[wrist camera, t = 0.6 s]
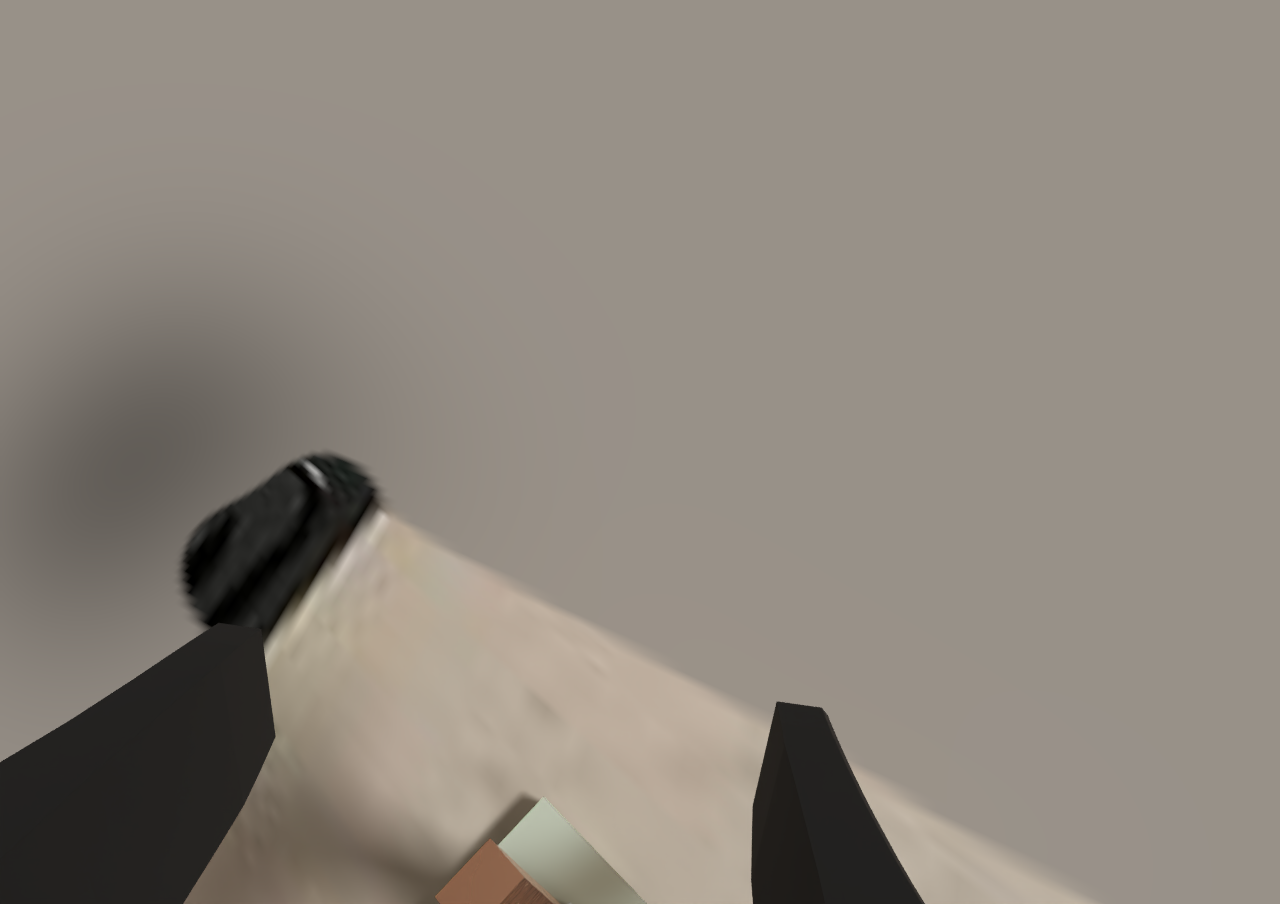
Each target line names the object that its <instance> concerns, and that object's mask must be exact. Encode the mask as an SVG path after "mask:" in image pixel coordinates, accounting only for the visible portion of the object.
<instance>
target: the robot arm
mask: <svg viewBox="0 0 1280 904" xmlns="http://www.w3.org/2000/svg"><path fill="white" fill-rule="evenodd" d="M275 737H276V736H275V729H274V722H273V714H272V707H271V699H270V692H269V684H268V677H267V669H266V662H265V654H264V647H263V639H262V632H261V629H257V628H250V627H243V626H236V625H229V624H221V623H218V624H217V625H215V626H213V627H212V628H210V629H209V630H207V631H205V632H204V633H202V634H201V635H199V636H198V637H196V638H194V639H193V640H191V641H190V642H188V643H187V644H185V645H184V646H182V647H181V648H179V649H178V650H176V651H175V652H173V653H172V654H171V655H169V656H168V657H166V658H164V659H163V660H161V661H160V662H159V663H157V664H155V665H154V666H152V667H151V668H149V669H148V670H146V671H145V672H144V673H142V674H140V675H139V676H137V677H136V678H135V679H133V680H131V681H130V682H128V683H127V684H125V685H124V686H122V687H121V688H119V689H118V690H116V691H114V692H113V693H111V694H110V695H108V696H107V697H105V698H104V699H102V700H101V701H99V702H98V703H96V704H94V705H93V706H92V707H90V708H88V709H87V710H85V711H84V712H82V713H81V714H79V715H78V716H76V717H74V718H73V719H71V720H70V721H68V722H67V723H65V724H63V725H61V726H60V727H58V728H56V729H55V730H53V731H51V732H50V733H48V734H46V735H45V736H43V737H42V738H40V739H38V740H36V741H35V742H33V743H31V744H30V745H28V746H26V747H25V748H23V749H21V750H20V751H18V752H16V753H15V754H13V755H12V756H10V757H8V758H7V759H5V760H3V761H2V762H0V904H183V903H184V901H185V900H186V898H187V896H188V895H189V893H190V892H191V890H192V888H193V887H194V885H195V884H196V882H197V881H198V879H199V877H200V876H201V874H202V873H203V871H204V869H205V868H206V866H207V865H208V863H209V861H210V860H211V858H212V856H213V855H214V853H215V852H216V850H217V848H218V847H219V845H220V843H221V842H222V840H223V839H224V837H225V835H226V834H227V832H228V830H229V829H230V827H231V826H232V824H233V822H234V821H235V819H236V817H237V816H238V814H239V812H240V811H241V809H242V807H243V806H244V804H245V802H246V799H247V797H248V795H249V793H250V791H251V789H252V787H253V785H254V783H255V781H256V779H257V777H258V775H259V772H260V770H261V768H262V766H263V763H264V761H265V759H266V757H267V754H268V752H269V750H270V748H271V746H272V743H273V741H274V739H275ZM751 883H752V896H753V904H925V903H924V902H923V900H922V898H921V897H920V895H919V893H918V892H917V890H916V889H915V887H914V885H913V884H912V882H911V880H910V879H909V877H908V875H907V873H906V872H905V870H904V868H903V867H902V865H901V863H900V861H899V860H898V858H897V856H896V854H895V852H894V851H893V849H892V847H891V845H890V843H889V841H888V840H887V838H886V836H885V834H884V832H883V830H882V829H881V827H880V825H879V823H878V821H877V819H876V818H875V816H874V814H873V812H872V810H871V808H870V806H869V804H868V802H867V800H866V798H865V796H864V794H863V792H862V790H861V788H860V786H859V784H858V782H857V780H856V778H855V776H854V774H853V772H852V770H851V768H850V765H849V763H848V761H847V759H846V757H845V755H844V752H843V750H842V748H841V746H840V743H839V741H838V739H837V737H836V734H835V732H834V730H833V727H832V725H831V722H830V720H829V717H828V715H827V714H826V713H825V711H824V710H823V709H822V708H820V707H812V706H804V705H798V704H790V703H784V702H777V703H776V707H775V712H774V716H773V720H772V724H771V729H770V733H769V737H768V742H767V746H766V750H765V755H764V759H763V764H762V768H761V772H760V777H759V781H758V785H757V790H756V794H755V798H754V803H753V818H752V867H751Z"/></svg>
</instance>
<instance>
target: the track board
mask: <svg viewBox="0 0 1280 904" xmlns="http://www.w3.org/2000/svg"><path fill="white" fill-rule="evenodd" d="M498 846H499V847H500V848H501V849H502V850H503V851H504V852H505V853H506V854H507V855H508V856H510V857H511V858H512V859H513V860H514V861H515V862H516V863H517V864H518V865H519V866H520V867H521V868H523V869H524V870H525V871H526V872H527V873H528V874H529V875H530V876H531V877H532V878H533V879H534V880H535V881H537V882H538V883H539V884H540V885H541V886H542V887H543V888H544V889H545V890H546V891H547V892H548V893H550V894H551V895H552V896H553V897H554V898H555V899H556V900H557V901H558V902H559V903H560V904H568V903H569V902H570V903H571V904H647V903H646V902H645V901H644V900H643V899H642V898H641V897H640V896H639V895H638V894H637V893H636V892H635V891H634V890H633V889H632V888H631V887H630V886H629V885H628V884H627V883H626V882H625V880H624V879H623V878H622V877H621V876H620V875H619V874H618V873H617V872H616V871H615V870H614V869H613V868H612V867H611V866H610V865H609V864H608V863H607V862H606V861H605V860H604V859H603V858H602V857H601V856H600V854H599V853H598V852H597V851H596V850H595V849H594V848H593V847H592V846H591V845H590V844H589V843H588V842H587V841H586V840H585V839H584V838H583V837H582V836H581V835H580V834H579V833H578V832H577V831H576V830H575V829H574V827H573V826H572V825H571V824H570V823H569V822H568V821H567V820H566V819H565V818H564V817H563V816H562V815H561V814H560V813H559V812H558V811H557V810H556V809H555V808H554V807H553V806H552V805H551V804H550V803H549V801H548V800H547V799H546V798H545V797H543V798H542V799H541V800H540V801H539V802H538V803H537V804H536V805H535V806H534V807H533V808H532V809H531V810H530V812H529V813H528V814H527V815H526V816H525V817H524V818H523V819H522V820H521V821H520V822H519V823H518V824H517V825H516V827H515V828H514V829H513V830H512V831H511V832H510V833H509V834H508V835H507V836H506V837H505V838H504V839H503V840H502V841H501V843H500V844H499V845H498Z"/></svg>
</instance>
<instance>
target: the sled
mask: <svg viewBox="0 0 1280 904" xmlns="http://www.w3.org/2000/svg"><path fill="white" fill-rule="evenodd" d="M435 898H436V899H437V900H438V902H439V903H440V904H560V903H559V902H558V901H557V900H556V899H555V898H554V897H553V896H552V895H551V894H550V893H548V892H547V891H546V890H545V889H544V888H543V887H542V886H541V885H540V884H539V883H538V882H537V881H535V880H534V879H533V878H532V877H531V876H530V875H529V874H528V873H527V872H526V871H525V870H524V869H523V868H521V867H520V866H519V865H518V864H517V863H516V862H515V861H514V860H513V859H512V858H511V857H510V856H508V855H507V854H506V853H505V852H504V851H503V850H502V849H501V848H500V847H499V846H498V845H497V844H496V843H494V842H493V841H492V840H491V839H489V840H488V841H487V842H486V843H485V844H484V845H483V846H482V847H481V848H480V849H479V850H478V851H477V852H476V854H475V855H474V856H473V857H472V858H471V859H470V860H469V861H468V862H467V863H466V864H465V865H464V866H463V867H462V868H461V869H460V870H459V872H458V873H457V874H456V875H455V876H454V877H453V878H452V879H451V880H450V881H449V882H448V883H447V884H446V885H445V886H444V887H443V889H442V890H441V891H440V892H439V893H438V894H437V895H436V896H435ZM568 904H571V903H570V902H569V903H568Z"/></svg>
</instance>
